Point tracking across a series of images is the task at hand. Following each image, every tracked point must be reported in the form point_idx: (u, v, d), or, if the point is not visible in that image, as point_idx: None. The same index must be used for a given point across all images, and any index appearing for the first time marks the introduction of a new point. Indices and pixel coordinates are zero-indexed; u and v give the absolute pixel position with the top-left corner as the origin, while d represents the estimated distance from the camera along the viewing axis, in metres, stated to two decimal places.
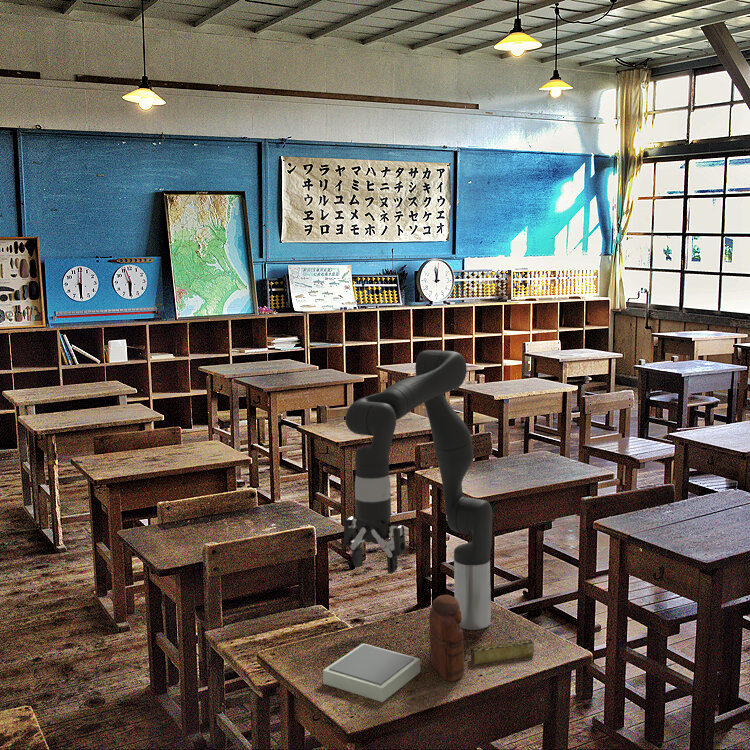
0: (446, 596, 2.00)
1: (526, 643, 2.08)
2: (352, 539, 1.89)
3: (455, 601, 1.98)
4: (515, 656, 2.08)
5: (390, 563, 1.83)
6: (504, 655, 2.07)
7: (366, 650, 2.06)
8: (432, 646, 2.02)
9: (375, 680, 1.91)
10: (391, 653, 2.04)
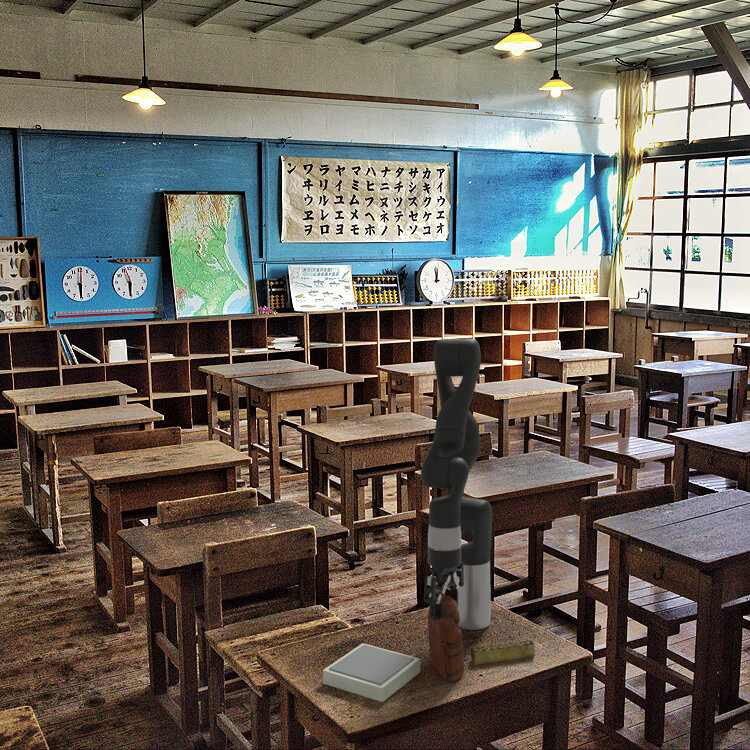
0: (444, 597, 1.99)
1: (527, 644, 2.08)
2: (429, 597, 1.95)
3: (453, 602, 1.98)
4: (516, 657, 2.07)
5: None
6: (505, 656, 2.06)
7: (366, 650, 2.06)
8: (431, 646, 2.02)
9: (375, 680, 1.91)
10: (391, 653, 2.04)
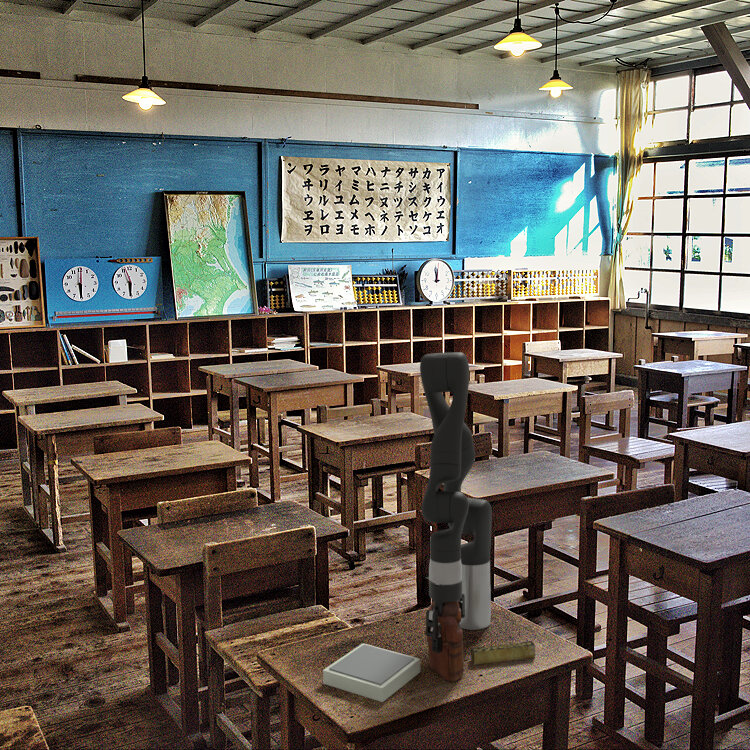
0: None
1: (527, 645, 2.07)
2: (431, 631, 1.96)
3: (455, 601, 1.98)
4: (516, 658, 2.07)
5: None
6: (505, 657, 2.06)
7: (366, 650, 2.06)
8: (431, 647, 2.02)
9: (375, 680, 1.91)
10: (391, 653, 2.04)
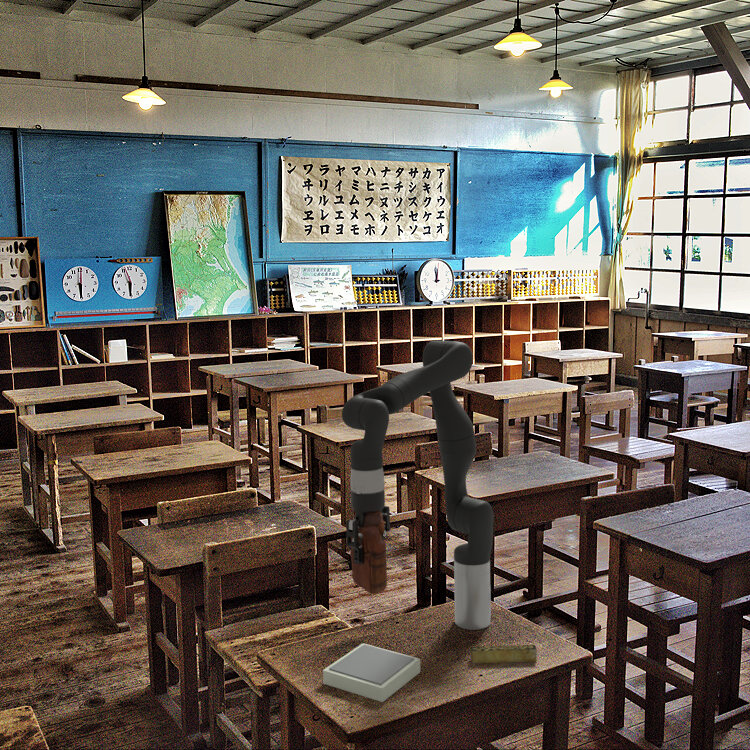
0: None
1: (529, 648, 2.06)
2: (352, 541, 1.90)
3: (378, 512, 1.93)
4: (516, 660, 2.06)
5: None
6: (505, 658, 2.05)
7: (366, 650, 2.06)
8: None
9: (375, 680, 1.91)
10: (391, 653, 2.04)
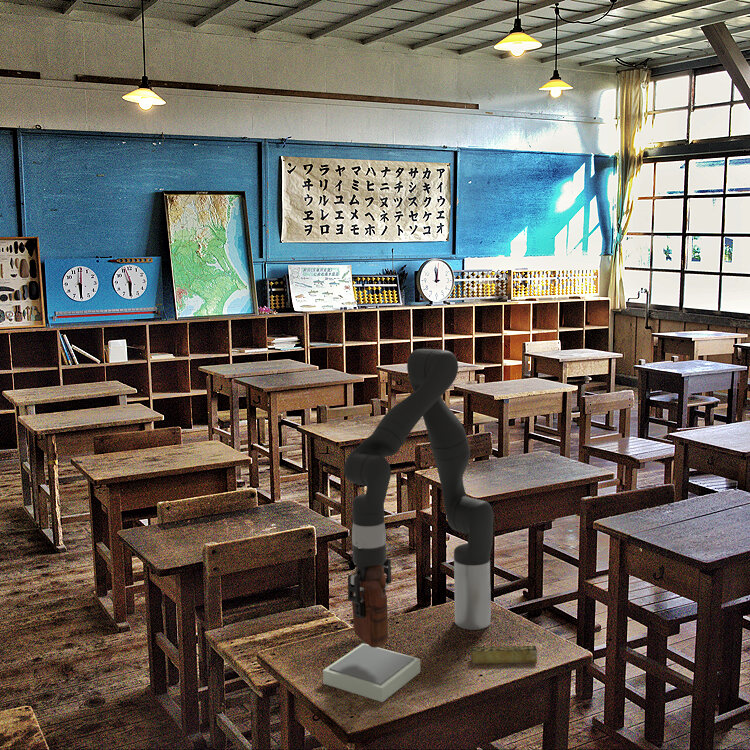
0: None
1: (529, 649, 2.05)
2: (354, 595, 1.92)
3: (379, 566, 1.95)
4: (516, 661, 2.05)
5: None
6: (505, 659, 2.05)
7: (366, 650, 2.06)
8: None
9: (375, 680, 1.91)
10: (391, 653, 2.04)
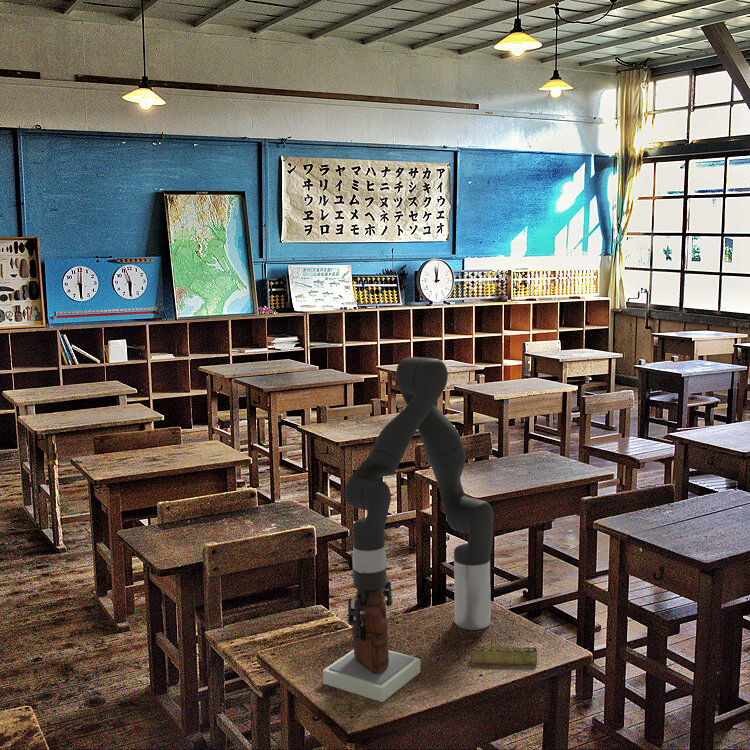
0: None
1: (529, 651, 2.04)
2: (354, 619, 1.93)
3: (379, 591, 1.96)
4: (516, 662, 2.05)
5: None
6: (504, 659, 2.05)
7: None
8: None
9: (375, 680, 1.91)
10: (391, 653, 2.04)
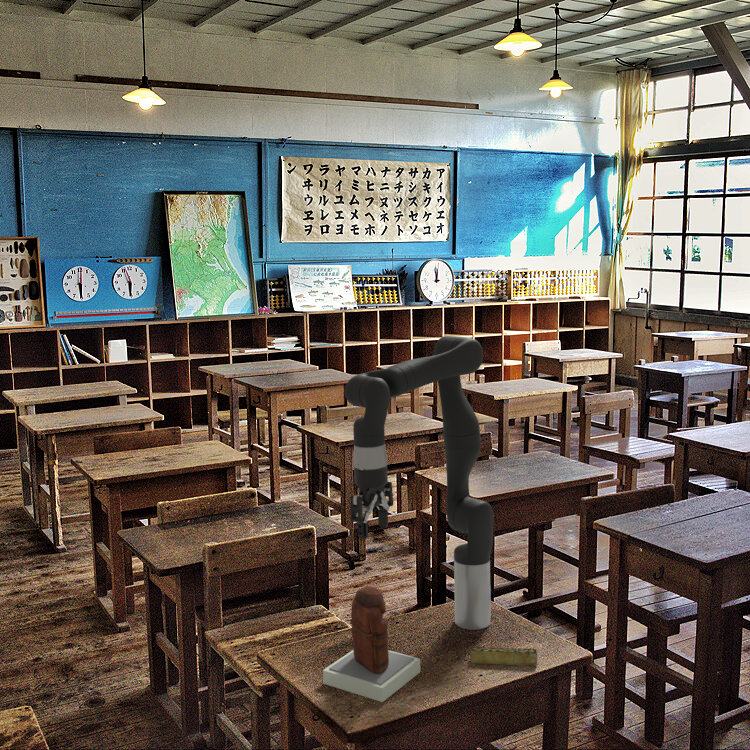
0: (369, 587, 1.97)
1: (529, 652, 2.04)
2: (356, 516, 1.95)
3: (379, 592, 1.96)
4: (516, 663, 2.04)
5: None
6: (504, 660, 2.04)
7: None
8: (355, 640, 1.99)
9: (375, 680, 1.91)
10: (391, 653, 2.04)
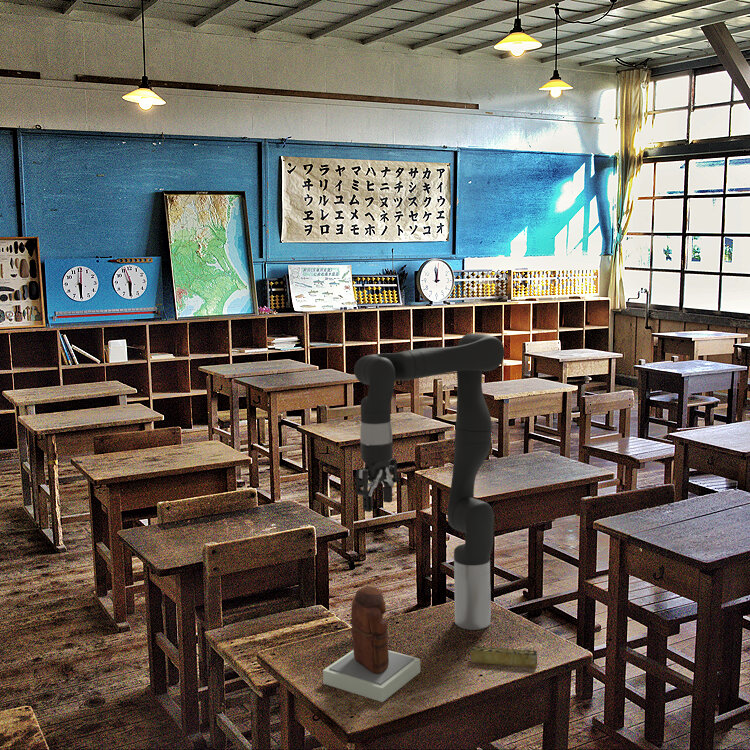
0: (369, 587, 1.97)
1: (528, 654, 2.03)
2: (362, 489, 2.03)
3: (379, 592, 1.96)
4: (515, 664, 2.04)
5: None
6: (503, 661, 2.04)
7: None
8: (355, 640, 1.99)
9: (375, 680, 1.91)
10: (391, 653, 2.04)
